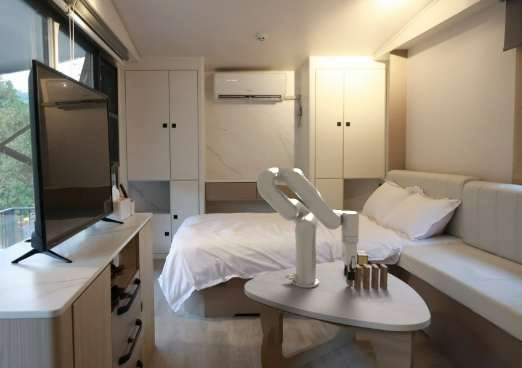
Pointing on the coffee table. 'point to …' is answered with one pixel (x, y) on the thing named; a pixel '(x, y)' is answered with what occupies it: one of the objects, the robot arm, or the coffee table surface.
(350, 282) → the domino
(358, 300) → the coffee table surface
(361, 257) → the puzzle cube
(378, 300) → the coffee table surface
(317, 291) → the coffee table surface
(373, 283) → the domino
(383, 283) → the domino
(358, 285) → the domino
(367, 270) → the domino
